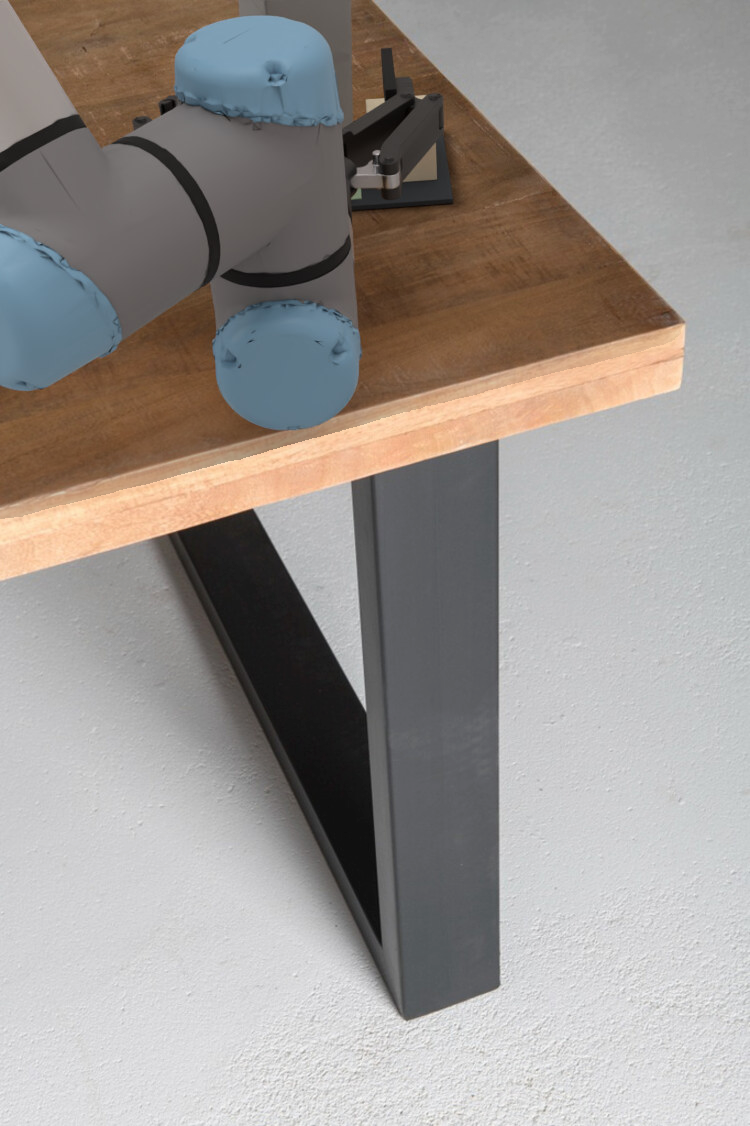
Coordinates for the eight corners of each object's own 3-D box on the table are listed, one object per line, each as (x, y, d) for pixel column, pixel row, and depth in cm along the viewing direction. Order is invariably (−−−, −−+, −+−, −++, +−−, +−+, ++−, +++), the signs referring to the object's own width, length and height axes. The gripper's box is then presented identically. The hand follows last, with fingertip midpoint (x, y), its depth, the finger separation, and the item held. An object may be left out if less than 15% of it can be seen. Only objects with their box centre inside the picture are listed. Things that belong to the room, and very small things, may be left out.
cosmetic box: (247, 158, 111) (220, -48, 100) (333, 140, 113) (316, -65, 102) (277, 207, 105) (251, -6, 94) (367, 187, 107) (353, -25, 96)
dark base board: (159, 224, 106) (148, 163, 102) (169, 155, 114) (159, 95, 110) (453, 203, 105) (451, 140, 102) (442, 135, 113) (441, 75, 110)
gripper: (89, 301, 85) (121, 138, 101) (501, 270, 85) (469, 111, 101) (63, 188, 80) (100, 35, 96) (501, 155, 80) (467, 6, 95)
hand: (289, 74), depth 98 cm, fingers open, 13 cm apart
